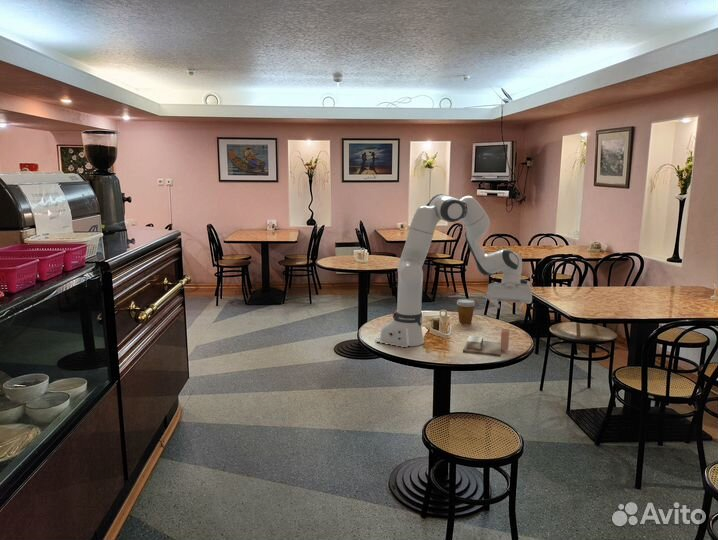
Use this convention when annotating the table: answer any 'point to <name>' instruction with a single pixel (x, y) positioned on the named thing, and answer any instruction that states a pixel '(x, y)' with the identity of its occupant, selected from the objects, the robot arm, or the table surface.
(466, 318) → the disposable coffee cup
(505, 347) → the terracotta tab
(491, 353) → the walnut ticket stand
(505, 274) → the robot arm
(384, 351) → the table surface
